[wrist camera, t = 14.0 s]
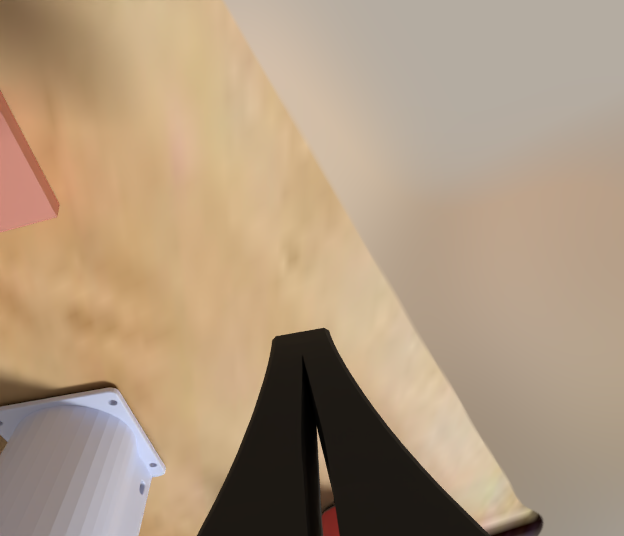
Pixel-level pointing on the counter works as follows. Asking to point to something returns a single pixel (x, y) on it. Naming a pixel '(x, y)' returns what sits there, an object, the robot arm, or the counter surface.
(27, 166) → the red domino
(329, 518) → the beer can
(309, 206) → the counter surface
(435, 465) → the counter surface
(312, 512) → the robot arm
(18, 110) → the counter surface
